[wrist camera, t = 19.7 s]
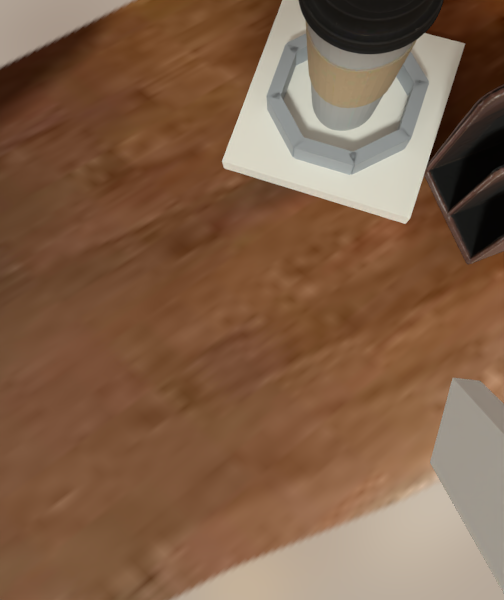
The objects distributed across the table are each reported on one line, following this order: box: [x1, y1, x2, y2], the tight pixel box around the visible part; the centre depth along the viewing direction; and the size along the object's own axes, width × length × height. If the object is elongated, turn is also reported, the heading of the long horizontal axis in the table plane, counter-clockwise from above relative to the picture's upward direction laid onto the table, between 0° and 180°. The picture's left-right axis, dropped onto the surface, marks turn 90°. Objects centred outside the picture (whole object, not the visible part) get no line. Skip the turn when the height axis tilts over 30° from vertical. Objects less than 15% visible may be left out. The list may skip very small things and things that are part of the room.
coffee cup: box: [299, 0, 443, 131], centre depth 35 cm, size 9×9×15 cm
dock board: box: [222, 0, 465, 224], centre depth 42 cm, size 18×18×4 cm
